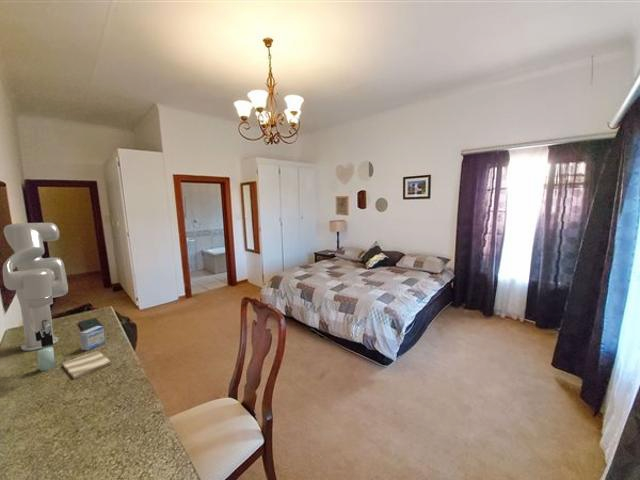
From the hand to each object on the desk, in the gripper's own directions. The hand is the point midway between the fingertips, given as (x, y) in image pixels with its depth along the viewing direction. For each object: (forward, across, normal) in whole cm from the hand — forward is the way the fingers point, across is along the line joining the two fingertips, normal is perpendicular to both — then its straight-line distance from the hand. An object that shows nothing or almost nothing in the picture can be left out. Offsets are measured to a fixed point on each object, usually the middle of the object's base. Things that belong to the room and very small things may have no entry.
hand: (44, 342), depth 109 cm
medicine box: (+11, -8, +17) cm, 22 cm away
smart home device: (+11, -39, +24) cm, 47 cm away
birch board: (+12, +10, +10) cm, 18 cm away
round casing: (+11, -1, 0) cm, 11 cm away
